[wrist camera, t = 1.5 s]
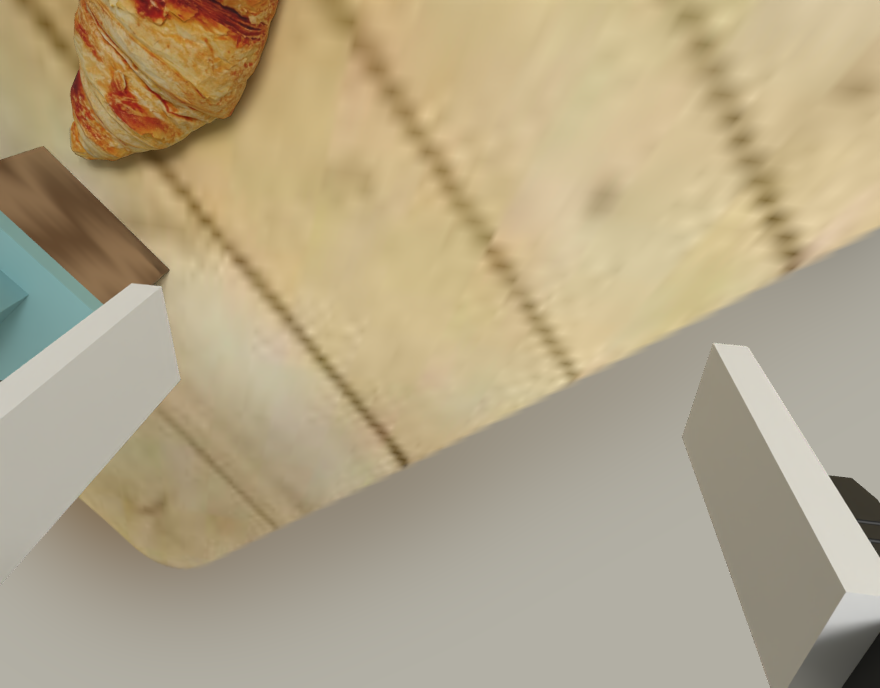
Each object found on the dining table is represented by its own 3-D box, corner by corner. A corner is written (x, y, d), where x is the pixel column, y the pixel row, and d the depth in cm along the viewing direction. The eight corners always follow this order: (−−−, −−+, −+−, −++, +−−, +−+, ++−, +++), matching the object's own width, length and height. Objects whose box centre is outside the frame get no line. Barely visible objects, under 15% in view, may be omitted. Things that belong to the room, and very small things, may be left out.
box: (-34, 238, 45) (-120, 276, 39) (43, 146, 40) (-41, 173, 34) (87, 344, 48) (25, 394, 42) (169, 269, 44) (113, 313, 38)
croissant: (161, 168, 44) (152, 241, 39) (4, 79, 37) (-31, 154, 32) (353, -78, 35) (372, -23, 30) (188, -254, 28) (178, -220, 23)
